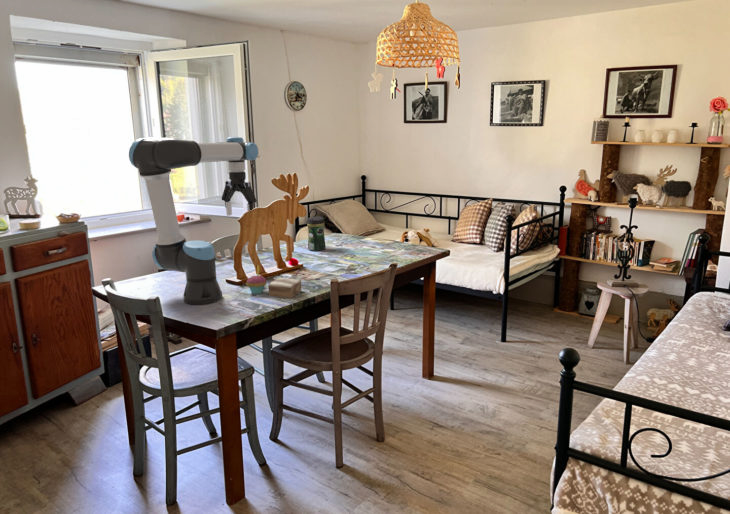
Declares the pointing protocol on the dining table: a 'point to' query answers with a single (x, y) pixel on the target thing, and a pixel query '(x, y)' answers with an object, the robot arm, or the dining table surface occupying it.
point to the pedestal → (284, 287)
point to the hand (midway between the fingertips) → (239, 216)
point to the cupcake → (256, 283)
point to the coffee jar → (316, 233)
